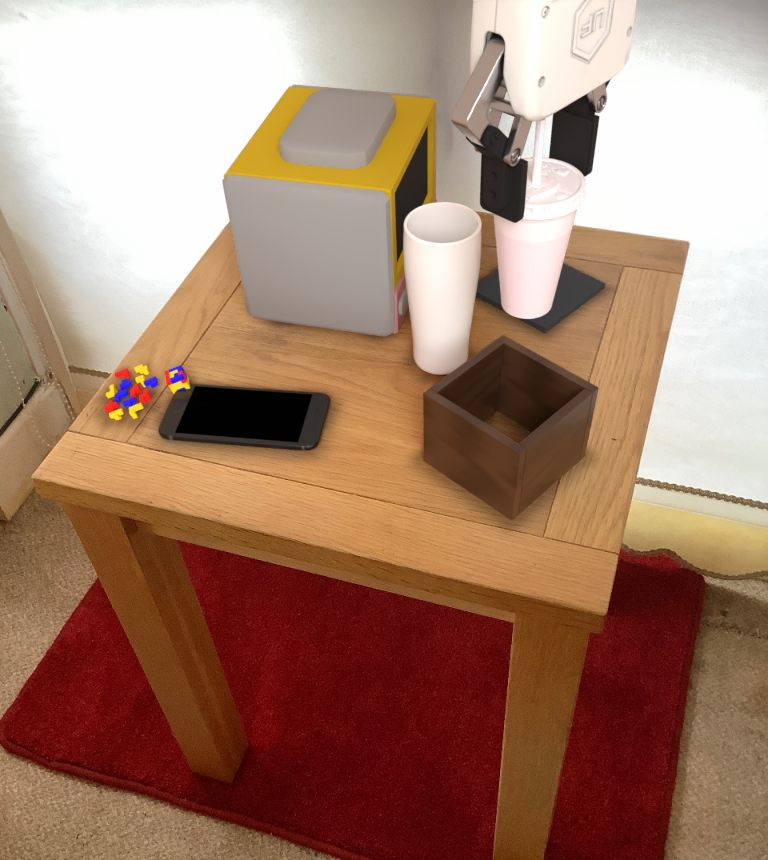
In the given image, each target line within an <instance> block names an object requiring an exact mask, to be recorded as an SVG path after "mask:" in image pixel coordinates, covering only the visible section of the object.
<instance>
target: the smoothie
mask: <svg viewBox="0 0 768 860" xmlns="http://www.w3.org/2000/svg"><path fill="white" fill-rule="evenodd" d="M546 119H547V118H545V119H543V120H540V121H535V132H534V143H533V144H534V145H533V155H532V157H524V158H523V157H521V159H524V160H526V161H528V172H527V185H526V198H525V211H524V217H523V219H521V220H520V221H518V222H517V223H513V222H511V221H509V220H507V219H504V218H502V217H500V216H498V215H495V214H493V223H494V234H495V244H496V245H495V246H496V258H497V269H498V270H499V281H500V292H501V304H502V307H503V309H504V310H505V311H506V312H505V311H504V312H505V313H506V314H508V315H510V316H512V317H515V318H516V317H517V318H516V319H518V318H523V319H532V318H538V317H541V316H543V315H545V314H546V313H548V312H549V311H550V309H551V307H552V303H553V300H554V296H555V292H556V288H557V284H558V280H559V277H560V273H561V269H562V265H563V263H564V260H565V257H566V253H567V249H568V246H569V241H570V239H571V235H572V230H573V226H574V224H575V219H576V216H577V212H578V208H580V207H581V206H582V205H583V203H584V201H585V199H586V185H587V181H586V178H585V177H586V176H585V177H584V175H583V174H582V173H581V172H580V171H579V170H578V169H577V168H576V167H574V166H572V165H571V164H569V163H566V162H563V161H560V160H556V159H551V158H549V157H543V152H544V143H545V131H546Z"/></svg>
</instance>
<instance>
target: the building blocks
mask: <svg viewBox="0 0 768 860" xmlns="http://www.w3.org/2000/svg"><path fill="white" fill-rule="evenodd" d="M133 369H134V371H135V373H136V374H138V373H139V374H140V375H138V376H136V377H135V382H136V383H135V384H133V383H132V381H131V379H129V378H131V377H132V375H131V372H130V371H129V370H128V368H126V367H125V368H122V369H121V370H118V371H115V372H114V377H115V378H116V379H119V378H121V377H124V378H122V379H121V384H119V389H117V387H116V385H115V384H114V383H112V384H110V385H108V386H109V391H107V392H105V397H106V398H107V399H111V398H113V397H114V398H113V399H114V401H113V400H112V399H111V400H109V401H107V404H106V405H104V406H103V410H104V412H106V413H108V417H109V418H110V419H112V420H115V421H120V420H122V417H123V415H124V414H125V412H124V410H123V408H119V403H120V402H121V401H122V400H121V399H123V398H126V397H129V395H130V398H128V399H125V400H123V401H122V402H121V403H122V407H124V408H128V413H129V415H130V416H131V418H132V419H133V420H136V419H138V418H139V417H138V413H137V412H138V411H140V410H143V409H144V404H145V403H146V402H147V403H149V402H152V400H153V399H152V397H151V395H150V391H149V390H148V388H146V387H149V386H150V388H151V389H154V388H156V387H157V386H159V379H158V377H157V376H153V377H150V378H148V379H146V377H145V376H147V375H149V374H150V369H149V367H148V365H144V364H139V365H137V366H134V367H133ZM164 376H165V383H166V385H167V386H168V388H169V389H170V391H171V393H172V395H174V393H175V392H176V391H179V390H184V389H189V388H190V384H191V383H190V379H189V378H190V377H189V375H188V374H187V373H186V371H185V369H184V368H183V366H182V364H180V365H177V366H174V367H172V368H170V369H168V370H164ZM127 379H128V380H127ZM139 383H140V384H141V385H139ZM132 386H133V387H132ZM141 386H142V387H143V388H145V389H143V388H141ZM130 387H132V388H130ZM129 388H130V389H129ZM127 389H129V391H128V390H127ZM137 395H138V396H139V398H138V399H139V402H137V401H138V400H137V398H136V397H137Z"/></svg>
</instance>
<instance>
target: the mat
mask: <svg viewBox="0 0 768 860" xmlns="http://www.w3.org/2000/svg"><path fill="white" fill-rule="evenodd" d="M605 286H606V283H605V282H603V281H602V280H600V279H597V278H595V277H593V276H591V275H589V274H586V273H585V272H583V271H581V270H578V269H576V268H574V267H572V266H570V265H568V264H566V263H564V262H563V265H562V269H561V273H560V277H559V280H558V284H557V288H556V292H555V296H554V300H553V303H552V307H551V309H550V311H549V312H548V313H546V314H545V315H543V316H541V317H538V318H532V319H523V318H517V317H515V318H516V319H518V320H521V321H522V322H524V323H526V324H528V325H530V326H532V327H533V328H535V329H536V330H539V331H541V332H543V333H547V332H548V331H550V330H552V328H554V327H555V326H556V325H558V324H559V323H560V322H562V321H563V320H564V319H566V318H567V317H568V316H569V315H571V314H572V313H574V312H575V311H576V310H577V309H579V308H580V307H582V306H583V305H584V304H585V303H587V302H588V301H589V300H590V299H592V298H593V297H595V296H596V295H597V294H599V293H600V292H602V290H604V289H605ZM476 297H477V298H478V299H481V300H483V301H485V302H486V303H488V304H490V305H491V306H494V307H496V308H498V309H499V310H501V311H503V312H505V313H507V312H506V311H505V310H504V309H503V307H502V304H501V292H500V281H499V270H498V268H497V269H496V270H494V271H493V272H492V273H490V274H488V275H487V276H486V277H484V278H483V279H481V280H480V281H478V285H477V292H476Z"/></svg>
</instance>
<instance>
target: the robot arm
mask: <svg viewBox="0 0 768 860" xmlns="http://www.w3.org/2000/svg"><path fill="white" fill-rule="evenodd" d="M637 1H638V0H472V12H471V24H470V45H469V47H470V48H469V73H470V74H469V75H470V77H469V78H468V80H467V82H466V84H465V86H464V88H463V90H462V92H461V94H460V96H459V98H458V100H457V101H456V104H455V106H454V108H453V109H452V112H451V115H450V116H451V117H450V120H451V121H450V122H451V123H452V124H453V126H454V127H455V128H456V129H457V130H459V132H460V133H461V134H462V135H463V136H465V139H466V140H467V141H468V143H470V144H471V145H472V146H473V148H474V151H475V152H476V153H478V154H480V178H479V179H480V181H479V182H480V183H479V186H480V187H479V205H480V208H482V210H484V211H487V212H489V213H491V214H493V215H494V214H495V215H498V216H500V217H502V218H504V219H507V220H509V221H511V222H513V223H517V222H518V221H520V220H521V219H523V217H524V211H525V198H526V185H527V172H528V161H526V160H524V159H522V156H523V153H524V150H525V147H526V143H527V140H528V137H529V134H530V131H531V127H532V123H533V122H536V121H540V120H543V119H545V118H546V119H547V118H549V117H551V116H552V119H551V131H550V142H549V150H548V152H549V154H548V158H551V159H556V160H560V161H563V162H566V163H569V164H571V165H572V166H574V167H576V168H577V169H578V170H579V171H580V172H581V173H582V174H583V175H584V177H587V176H588V175H590V174H592V172H593V167H594V161H595V153H596V146H597V137H598V131H599V126H600V125H599V123H600V115H599V114H600V113H602V112H603V111H604V109H605V107H606V105H607V101H608V93H607V87H608V85H609V84H610V82H611V80H612V79H613V78H615V77H616V76H617V75H618V74H619V73H621V71H622V70H623V69H624V68H625V67H626V65H627V63H628V61H629V57H630V54H631V49H632V42H633V34H634V27H635V19H636V11H637V3H638V2H637ZM506 94H507V95H508V99H506ZM596 113H597V114H596ZM503 114H506V115H508V116H511V117H513V120H512V123H511V127H510V131H509V134H508V136H506V133H504V132H503V131H502V130H501V129H500V128H499V125H500V122H501V119H502V115H503ZM546 119H545V120H546Z"/></svg>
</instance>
